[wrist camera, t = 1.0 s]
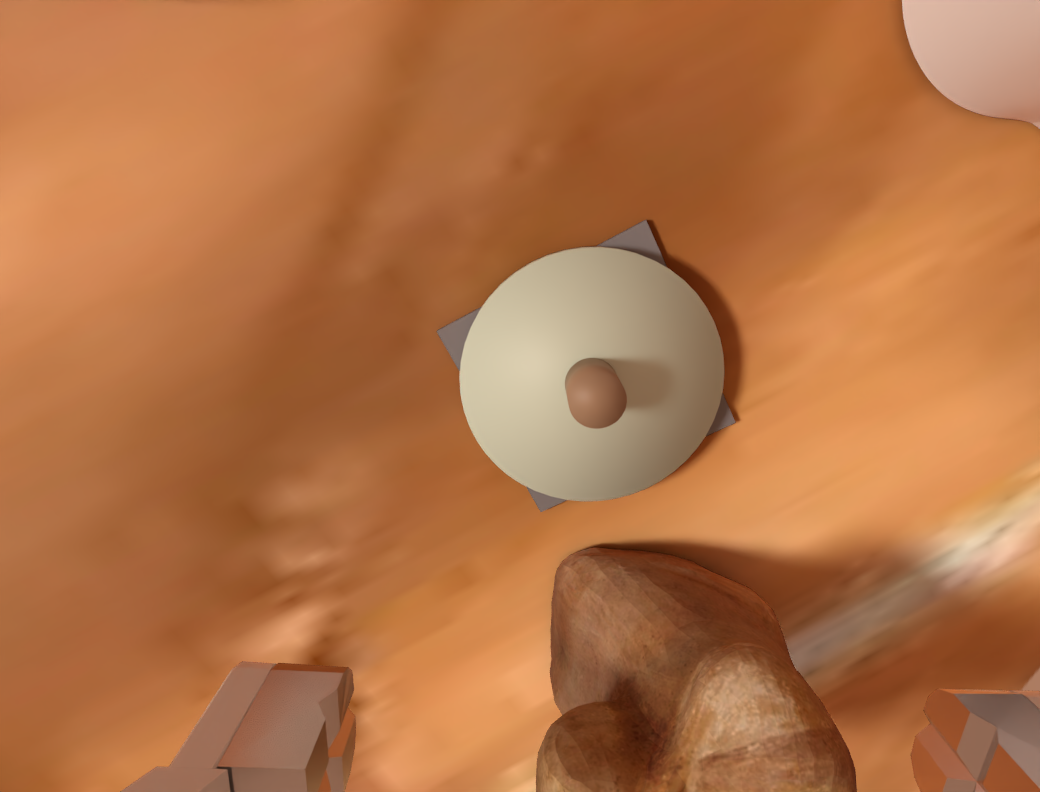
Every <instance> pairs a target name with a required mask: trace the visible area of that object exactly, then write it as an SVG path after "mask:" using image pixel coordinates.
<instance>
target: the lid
mask: <svg viewBox="0 0 1040 792" xmlns="http://www.w3.org/2000/svg"><path fill="white" fill-rule="evenodd" d="M723 384H724V355H723V350H722V345H721V340H720V336H719V334H718V331H717V328H716V325H715V322H714V320H713V318H712V317H711V315H710V313H709V311H708V309H707V307H706V306H705V304H704V303H703V301H702V300H701V299H700V297H699V296H698V294H697V293H696V292H695V291H694V290H693V289H692V288H691V287H690V286H689V285H688V284H687V283H686V282H685V281H684V280H683V279H682V278H680V277H679V276H678V275H677V274H675V273H674V272H673V271H672V270H670V269H668V268H667V267H665V266H663V265H661V264H660V263H658V262H656V261H654V260H652V259H649V258H647V257H644V256H642V255H639V254H637V253H634V252H630V251H626V250H622V249H618V248H610V247H601V246H593V247H577V248H571V249H565V250H561V251H558V252H555V253H551V254H548V255H545V256H543V257H541V258H539V259H537V260H534V261H532V262H530V263H528V264H527V265H525V266H524V267H522V268H520V269H519V270H517V271H516V272H514V273H513V274H512V275H511V276H509V277H508V278H507V279H506V280H505V281H503V282H502V283H501V284H500V285H499V286H498V287H497V289H496V290H495V291H494V292H493V293H492V294H491V295H490V296H489V298H488V299H487V300H486V302H485V303H484V305H483V306H482V308H481V309H480V311H479V312H478V314H477V316H476V318H475V320H474V322H473V324H472V326H471V328H470V330H469V333H468V336H467V339H466V342H465V344H464V349H463V353H462V358H461V365H460V393H461V399H462V404H463V409H464V412H465V415H466V418H467V421H468V424H469V426H470V428H471V430H472V432H473V434H474V436H475V438H476V440H477V442H478V443H479V445H480V446H481V447H482V449H483V450H484V452H485V453H486V454H487V455H488V457H489V458H490V459H491V460H492V461H493V462H494V463H495V464H496V465H497V466H498V467H499V468H500V469H501V470H502V471H504V472H505V473H506V474H507V475H508V476H510V477H511V478H513V479H514V480H516V481H517V482H519V483H520V484H522V485H524V486H526V487H528V488H530V489H532V490H534V491H537V492H540V493H543V494H545V495H548V496H552V497H556V498H561V499H565V500H574V501H602V500H609V499H616V498H619V497H623V496H627V495H631V494H633V493H636V492H639V491H641V490H644V489H646V488H648V487H650V486H652V485H654V484H656V483H658V482H659V481H661V480H662V479H664V478H665V477H667V476H668V475H670V474H671V473H673V472H674V471H675V470H676V469H677V468H679V467H680V466H681V465H682V464H683V463H684V462H685V461H686V460H687V459H688V458H689V457H690V456H691V455H692V454H693V452H694V451H695V450H696V449H697V448H698V446H699V445H700V443H701V442H702V440H703V439H704V438H705V436H706V435H707V433H708V431H709V429H710V427H711V425H712V423H713V421H714V419H715V416H716V413H717V410H718V408H719V405H720V400H721V396H722V391H723Z"/></svg>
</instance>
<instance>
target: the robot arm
mask: <svg viewBox="0 0 1040 792" xmlns="http://www.w3.org/2000/svg"><path fill="white" fill-rule="evenodd" d="M902 9H903V18H904V24H905V29H906V33H907V37H908V40H909V43H910V46H911V49H912V51H913V54H914V56H915V58H916V60H917V62H918V64H919V66H920V68H921V69H922V71H923V72H924V74H925V75H926V77H927V78H928V79H929V81H930V82H931V83H932V84H933V85H934V86H935V87H936V88H937V89H938V90H939V91H940V92H941V93H942V94H943V95H944V96H946V97H947V98H948V99H950V100H951V101H953V102H954V103H956V104H957V105H959V106H961V107H963V108H965V109H967V110H970V111H972V112H975V113H978V114H982V115H985V116H990V117H997V118H1006V119H1016V120H1021V121H1026V122H1029V123H1032V124H1034V125H1035V126H1036V127H1038V128H1039V129H1040V0H902ZM353 691H354V685H353V674H352V670H351V669H350V668H349V667H336V666H320V665H304V664H288V663H278V664H272V663H258V662H244V661H242V662H241V663H239V664H238V665H237V666H235V667H234V668H233V669H232V670H231V671H230V673H229V675H228V676H227V678H226V679H225V681H224V682H223V684H222V685H221V687H220V688H219V690H218V692H217V693H216V695H215V696H214V698H213V699H212V701H211V702H210V704H209V705H208V707H207V709H206V710H205V712H204V713H203V715H202V716H201V718H200V719H199V721H198V722H197V724H196V726H195V727H194V729H193V730H192V732H191V733H190V735H189V736H188V738H187V739H186V741H185V742H184V744H183V746H182V747H181V749H180V750H179V752H178V753H177V755H176V756H175V758H174V759H173V761H172V763H171V764H170V766H169V767H155V768H154V769H152V770H151V771H150V772H148V773H147V774H145V775H144V776H142V777H141V778H139V779H138V780H136V781H135V782H133V783H132V784H131V785H129V786H128V787H126V788H125V789H123V790H122V791H120V792H345V789H346V785H347V782H348V778H349V775H350V771H351V766H352V760H353V755H354V749H355V736H356V720H355V715H354V714H353V712H352V711H351V710H350V709H349V708H348V706H349V703H350V700H351V697H352V694H353ZM923 711H924V713H925V715H926V716H927V718H928V720H929V722H930V724H929V725H928V726H927V727H925V728H924V729H923V730H922V731H921V732H920V733H918V734H917V735H916V736H915V740H914V744H913V748H912V752H911V760H912V766H913V772H914V778H915V780H916V782H917V785H918V787H919V789H920V791H921V792H1040V691H1016V690H1011V691H1002V690H966V689H936V690H935V691H934V692H933V693H932V694H930V695H929V696H928V699H927V702H926V705H925V708H924V710H923Z"/></svg>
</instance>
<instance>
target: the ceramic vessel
mask: <svg viewBox="0 0 1040 792" xmlns="http://www.w3.org/2000/svg"><path fill="white" fill-rule="evenodd" d="M551 657H552V660H551V667H550V677H551V683H552V689H553V695H554V700H555V703H556V705H557V707H558V708H559V710H560V712H561V714H562V716H561V717H560V718H559V719H558V720H556V721H555V722H554V723H553V724H552V725H551V726H550V728H549V729H548V731H547V733H546V735H545V738H544V740H543V742H542V745H541V747H540V749H539V752H538V759H537V771H536V792H857V788H856V774H855V767H854V764H853V760H852V758H851V755H850V752H849V750H848V747H847V745H846V744H845V742H844V740H843V738H842V736H841V734H840V732H839V731H838V729H837V727H836V725H835V724H834V722H833V720H832V719H831V717H830V715H829V714H828V712H827V710H826V709H825V707H824V705H823V704H822V702H821V701H820V699H819V698H818V697H817V695H816V694H815V693H814V691H813V690H812V689H811V687H810V686H809V685H808V684H807V682H806V681H805V680H804V678H803V677H802V676H801V675H800V673H799V672H798V671H797V670H796V669H795V667H794V665H793V663H792V660H791V658H790V656H789V652H788V649H787V646H786V642H785V639H784V636H783V633H782V631H781V628H780V626H779V624H778V621H777V619H776V616H775V614H774V611H773V610H772V609H771V608H770V607H769V606H768V605H767V604H766V603H765V602H764V601H763V600H762V599H761V598H760V597H759V596H758V595H757V594H756V593H755V592H754V591H753V590H751V589H749V588H748V587H746V586H743V585H741V584H739V583H737V582H734V581H732V580H730V579H728V578H725V577H723V576H721V575H718V574H716V573H714V572H711V571H709V570H707V569H706V568H704V567H702V566H700V565H698V564H696V563H694V562H692V561H690V560H686V559H682V558H679V557H676V556H673V555H669V554H662V553H655V552H648V551H639V550H620V549H607V548H597V547H594V548H590V549H585V550H582V551H579V552H577V553H574V554H571V555H569V556H568V557H567V558H566V559H565V560H563V561H562V563H561V564H560V566H559V567H558V569H557V572H556V575H555V582H554V591H553V598H552V618H551Z"/></svg>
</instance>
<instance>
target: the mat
mask: <svg viewBox="0 0 1040 792" xmlns="http://www.w3.org/2000/svg"><path fill="white" fill-rule="evenodd" d="M597 246H601V247H610V248H618V249H622V250H626V251H630V252H634V253H637V254H639V255H642V256H644V257H647V258H649V259H652V260H654V261H656V262H658V263H660V264H661V265H663V266H665V267H667V266H666V264H665V261H664V259H663V257H662V255H661V252H660V250H659V248H658V246H657V243H656V241H655V239H654V236H653V234H652V232H651V230H650V227H649V225H648V223H647V221H646V220H644V221H642V222H640V223H638V224H637V225H635V226H633V227H631V228H629V229H627V230H625V231H623V232H622V233H620V234H618V235H616V236H614V237H612V238H610V239H608V240H606V241H605V242H603V243H601V244H599V245H597ZM481 308H482V307H480V308H478V309H476V310H475V311H473V312H471V313H469V314H467V315H465V316H463V317H461V318H460V319H458V320H456V321H454V322H452V323H450V324H448V325H446V326H444V327H443V328H441V329H439V330H437V333H438V335H439V336H440V338H441V340H442V342H443V343H444V345H445V347H446V349H447V350H448V352H449V354H450V356H451V357H452V359H453V361H454V362H455V364H456V366H457V368H458V369H459V371H460V365H461V358H462V353H463V349H464V344H465V342H466V339H467V336H468V333H469V330H470V328H471V326H472V324H473V322H474V320H475V318H476V316H477V314H478V312H479V311H480V309H481ZM734 423H736V422H735V420H734V418H733V415H732V413H731V411H730V409H729V406H728V404H727V402H726V399H725V397H724V395H723V393H722V396H721V400H720V405H719V408H718V410H717V413H716V416H715V419H714V421H713V423H712V425H711V427H710V429H709V431H708V433H707V435H706V436H708V435H710V434H712V433H714V432H716V431H718V430H721V429H723V428H725V427H727V426H729V425H732V424H734ZM527 489H528V491H529V492H530V494H531V496H532V498H533V499H534V501H535V503H536V504H537V506H538V508H539V510H540V511H541V512H542V511H544V510H546V509H549V508H551V507H553V506H555V505H557V504H560V503H562V502H564V501H566V500H565V499H561V498H556V497H552V496H548V495H545V494H543V493H540V492H537V491H534V490H532V489H530V488H528V487H527Z"/></svg>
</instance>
